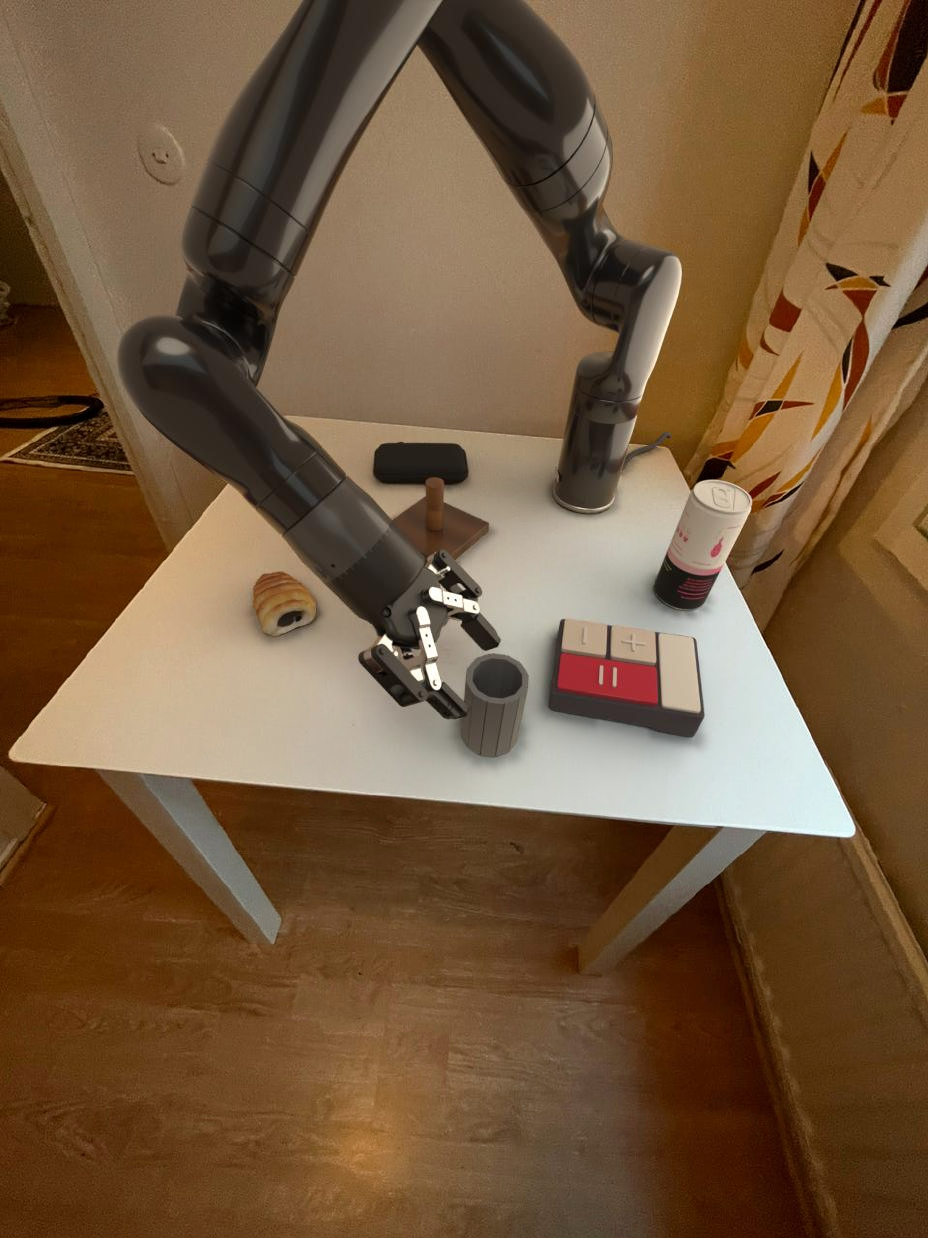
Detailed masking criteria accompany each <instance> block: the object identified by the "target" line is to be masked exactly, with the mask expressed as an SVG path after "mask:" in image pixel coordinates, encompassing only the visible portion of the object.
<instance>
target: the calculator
mask: <svg viewBox="0 0 928 1238" xmlns="http://www.w3.org/2000/svg"><path fill="white" fill-rule="evenodd" d="M701 677H702V676H701V669H700V661H699V650H698V643H697V639H696V638H695V637H693V636H688V635H680V634H674V633H667V632H660V631H655V630H651V629H643V628H636V627H629V626H622V625H610V624H606V623H603V622H602V623H601V622H595V621H594V622H593V621H587V620H581V619H574V618H562V619H560V620H559V625H558V631H557V637H556V644H555V653H554V660H553V667H552V675H551V684H550V691H549V700H548V709H549V710H550V711H554V712H559V713H564V714H571V715H578V716H584V717H589V718H593V719H594V718H596V719H601V720H607V721H612V722H619V723H623V724H632V725H638V726H642V727H648V728H651V729H652V730H654V731H656V732H658V733H663V734H664V733H665V734H669V735H676V736H682V737H688V738H693V737H695V736H696V734H697V732H698V730H699V728H700V726H701V724H702V722H703V720H704V719H705V715H706V714H705V705H704V704H705V703H704V697H703V695H704V694H703V687H702V679H701Z"/></svg>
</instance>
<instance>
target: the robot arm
mask: <svg viewBox="0 0 928 1238" xmlns="http://www.w3.org/2000/svg"><path fill="white" fill-rule="evenodd" d="M417 47H418V49H419V50H420V51H421V53H422V54H423V55H424V57H425V58H426V60H427V61H428V63H429V64H430V65H431V67H432V68H433V70H434V72H435V73H436V75H437V76H438V77H439V80H440V81H441V82H442V84H443V86H444V87H445V89H446V91H447V93H448V94H449V96H450V98H451V99H452V100H453V102H454V105H456V108H458V110H459V111H460V113H461V115H462V116H463V118H464V120H465V121H466V123H467V124H468V126H469V127H470V129H471V130H472V132H473V134H474V135H475V136H476V138H477V140H478V141H479V143H480V144H481V145H482V147H483V149H484V151H485V152H486V154H487V155H488V157H489V159H490V160H491V162H492V164H493V166H494V167H495V169H496V171H497V173H498V175H499V176H500V178H501V179H502V181H503V182H504V184H505V186H506V187H507V189H508V190H509V192H510V193H511V195H512V197H513V198H514V200H515V201H516V202H517V204H518V206H519V207H520V209H522V211H523V212H524V214H525V215H526V216H527V218H528V219H529V221H530V222H531V224H532V226H533V227H534V229H535V230H536V232H537V233H538V235H539V237H540V238H541V240H542V241H543V243H544V244H545V246H546V248H547V249H548V250H549V252H550V253H551V255H552V256H553V258H554V260H555V262H556V263H557V264H556V265H558V268H559V270H560V272H561V274H562V276H563V278H564V282H565V283H566V285H567V288H568V290H569V292H570V295H571V297H572V299H573V302H574V304H575V305H576V307H577V309H578V311H579V312H580V314H581V315H582V316H583V317H584V318H585V319H586V320H587V321H589V322H590V323H592V324H593V325H596V326H598V327H601V328H603V329H605V330H608V331H611V332H613V333H616V334H618V337H617V341H616V344H615V346H614V348H613V350H603V351H596V352H592V353H589V354H587V355H584V356H582V358H581V359H580V360H579V361H578V363H577V365H576V370H575V374H574V378H573V383H572V384H573V385H572V390H571V395H570V399H569V406H568V412H567V417H566V422H565V426H564V432H563V437H562V444H561V448H560V454H559V460H558V464H557V467H555V469H554V475H555V480H554V484H553V487H552V497H553V498H554V500H555V501H556V502H557V503H558V504H559V506H560V505H561V507H563V508H565V509H567V510H570V511H573V512H575V513H581V514H599V513H603V512H605V511H607V510H609V509H610V508H611V507H612V505H614V501H615V496H616V491H617V489H618V484H619V482H620V477H621V474H622V472H623V470H625V468H626V467H627V466H628V464H629V462H630V461H631V460H632V458H634V457H635V456H638V455H639V454H642V453H645V452H648V451H650V450H652V449H655V448H656V447H658V446H659V445H660V444H661V443H663V441H664V440H665V439H672V434H671V433H670V431H665V432H663V433H662V434H661V435H660V436H659V437H658V438H657V439H656V440H654V442H652V443H650V444H648V445H644V446H642V447H638V448H636V449H634V450H633V451H630V452H629V453H628V449H629V445H630V443H631V439H632V436H633V431H634V429H635V424H636V421H637V417H638V413H639V410H640V407H641V404H642V400H643V396H644V393H645V389H646V386H647V382H648V381H649V378H650V376H651V374H652V373H653V370H654V368H655V366H656V364H657V361H658V358H659V355H660V352H661V349H662V345H663V342H664V339H665V336H666V335H667V330H668V327H669V325H670V322H671V320H672V317H673V314H674V311H675V308H676V305H677V301H678V299H679V294H680V290H681V286H682V279H683V264H682V261H681V258H680V257H679V256H678V255H677V254H676V253H675V252H673V251H671V250H668V249H665V248H661V247H657V246H654V245H650V244H646V243H643V242H640V241H637V240H634V239H633V240H632V239H629V238H627V237H625V236H623V235H622V234H620V232H618V231H617V230H616V228H615V226H614V225H613V224H612V221H610V218H609V216H608V214H607V212H606V210H605V208H604V201H605V198H606V196H607V194H608V189H609V186H610V182H611V178H612V171H613V166H614V165H613V164H614V151H613V143H612V138H611V134H610V131H609V127H608V124H607V121H606V118H605V116H604V114H603V111H602V108H601V106H600V103H599V101H598V97H597V96H596V93H595V90H594V88H593V86H592V83H591V81H590V78H589V77H588V74H587V73H586V71H585V70H584V67H583V66H582V64H581V62H580V61H579V59H578V58H577V56H576V55H575V53H574V52H573V51H572V49H570V47H569V46H568V45H567V43H566V42H565V41H564V40H563V39H562V38H561V36H560V35H559V34H558V33H557V32H556V31H555V29H554V28H552V27H551V26H550V24H549V23H548V22H547V21H546V20H545V19H544V18H543V17H542V16H541V15H540V14H539V13H538V12H537V10H536V9H534V7H532V5H530V4H529V3H528V1H526V0H300V2H299V4H298V5H297V7H296V9H295V11H294V12H293V13H292V15H291V16H290V18H289V19H288V21H287V23H286V24H285V26H284V27H283V28H282V30H281V32H280V33H279V35H278V36H277V37H276V38H275V40H274V42H273V43H272V45H270V47H269V49H268V50H267V52H266V53H265V54H264V56H263V57H262V58H261V60H260V61H259V63H258V64H257V66H256V67H255V68H254V70H253V72H252V73H251V74H250V76H249V77H248V79H247V80H246V81H245V83H244V85H243V86H242V87H241V89H240V90H239V92H238V94H237V95H236V97H235V99H234V100H233V102H232V104H231V106H230V107H229V109H228V110H227V112H226V113H225V116H224V118H223V121H222V122H221V124H220V126H219V128H218V130H217V132H216V134H215V137H214V139H213V142H212V144H211V147H210V150H209V152H208V155H207V157H206V159H205V161H206V162H204V166H203V168H202V170H201V173H200V176H199V179H198V182H197V184H196V187H195V189H194V193H193V195H192V198H191V201H190V203H189V205H190V206H189V207H188V208H187V212H186V214H185V218H184V221H183V224H182V227H181V232H180V236H179V250H180V254H181V257H182V259H183V261H184V264H185V267H186V269H185V275H184V281H183V284H182V288H181V291H180V295H179V298H178V302H177V305H176V309H175V311H174V314H154V315H149V316H145V317H142V318H140V319H138V320H136V321H135V322H133V323H131V325H129V327H127V328H126V329H125V331H124V332H123V334H122V335H121V336H120V339H119V342H118V344H117V345H118V346H117V349H116V369H117V374H118V377H119V380H120V383H121V386H122V388H123V389H124V392H125V394H126V395H127V397H128V398H129V400H130V401H131V403H132V404H133V405H134V407H135V409H136V410H137V411H138V412H139V413H140V414H141V416H143V417H144V419H145V420H146V421H147V422H149V424H150V425H151V426H153V428H154V429H155V430H157V431H158V432H159V433H160V434H161V435H162V436H163V437H164V438H165V439H167V440H168V441H170V442H171V444H173V445H174V446H175V447H177V448H178V449H180V450H181V451H182V452H184V454H186V455H188V456H189V457H190V458H191V459H192V460H194V461H196V462H197V463H198V464H200V465H201V466H202V467H204V468H205V469H206V470H207V471H209V472H210V473H211V474H212V475H214V476H216V477H217V478H219V479H220V480H222V481H223V482H225V483H227V484H228V485H229V486H230V487H232V488H233V489H235V490H236V491H237V492H238V493H239V494H240V495H241V496H242V497H243V499H244V500H245V501H246V502H247V503H248V505H249V506H250V507H251V508H252V509H254V510H255V511H256V513H258V515H259V516H261V518H263V520H265V521H266V523H267V524H269V526H270V527H272V528H273V529H274V530H275V532H277V533H278V534H279V535H281V538H282V539H283V540H284V541H285V542H286V544H288V546H289V547H290V548H291V550H292V551H293V553H294V554H295V555H296V556H297V558H298V559H299V560H300V561H301V562H302V563H303V564H304V565H305V566H306V567H307V568H308V569H309V570H310V571H311V572H312V573H313V574H314V575H315V577H317V578H318V579H319V581H321V582H322V583H323V585H325V586H326V587H327V588H328V589H329V590H330V591H331V592H332V593H333V594H334V595H335V596H336V597H337V598H338V599H339V600H340V601H341V602H342V603H343V604H344V605H345V606H346V607H347V608H348V609H349V610H350V611H351V612H352V613H353V614H354V615H355V616H356V617H357V618H359V619H362V620H363V621H365V622H368V623H369V624H370V625H371V626H372V627H373V629H374V631H375V633H376V636H377V638H376V639H375V641H374V642H373V643H372V644H371V646H370V647H369V648H368V649H365V650H362V651H361V652H359V654H357V655H358V656H357V660H358V662H359V664H360V665H361V666H362V668H364V669H365V670H366V672H367V673H368V674H369V675H370V676H371V677H372V678H373V679H374V680H375V681H376V682H377V683H378V684H379V685H380V686H381V687H382V689H383V690H384V691H385V692H386V693H387V694H388V695H389V696H390V697H391V698H392V699H393V700H394V701H395V702H396V703H397V704H398V705H399V706H400V707H401V708H406V707H410V706H413V705H417V704H421V703H423V702H427V704H429V706H431V707H432V708H433V710H434V711H436V712H437V713H438V714H439V715H440V716H441V717H442V718H443V719H445V720H448V721H449V720H458V719H462V718H463V717H466V716H467V714H468V712H469V710H470V708H469V706H468V705H467V704H466V703H465V702H464V699H462V698H461V697H460V696H459V695H458V694H457V693H456V692H455V691H454V690H453V688H451V687H450V686H449V685H448V683H446V682H445V681H442V680H441V677H440V673H439V670H438V666H437V660H438V658H439V654H438V651H437V647H436V643H437V642H438V639H439V638H440V636H441V631H442V629H443V628H444V627H445V626H446V625H447V624H448V622H449V620H452V621H456V622H460V621H461V623H460V626H459V627H461V629H462V630H463V631H464V632H465V633H466V634H467V635H468V636H469V637H470V638H471V640H473V641H474V643H475V644H476V645H477V646H478V647H479V649H481V650H482V651H484V652H487V651H491V650H493V649H497V648H498V647H499V646H500V644H501V641H502V639H501V637H500V636H499V634H498V632H497V630H496V629H495V627H494V626H493V625H492V624H491V623H490V622H489V621H488V620H487V619H486V617H485V616H484V615H483V614H482V612H480V611H481V606H480V605H479V603H478V600H479V598H480V597H481V596H483V589H482V587H481V586H480V585H479V584H478V583H477V582H476V581H475V580H474V578H473V577H471V575H470V574H469V573H468V572H467V571H466V570H465V569H464V568H463V567H462V566H461V565H460V564H459V562H458V561H457V560H454V559H453V557H452V556H451V555H450V554H449V553H448V552H447V551H446V550H444V549H441V550H440V551H438V552H435V553H433V554H432V555H430V556H428V557H427V558H424V556H423V554H422V553H421V552H420V551H419V550H418V549H417V548H416V546H415V545H414V544H413V543H412V542H411V541H410V540H409V539H408V538H407V536H406V535H405V534H404V533H403V532H402V531H401V530H400V529H399V527H398V526H397V525H396V524H395V523H394V522H393V521H392V520H393V519H392V518H391V517H390V516H389V515H388V514H387V513H386V512H385V511H384V509H383V508H382V507H381V505H379V504H378V503H377V502H376V500H375V499H374V498H373V496H371V495H370V494H369V493H368V492H367V491H366V490H365V489H364V488H362V487H361V486H360V485H358V483H356V482H355V481H354V480H353V479H352V478H351V477H350V476H349V475H347V473H346V471H345V470H343V469H342V468H341V466H340V465H339V464H338V463H337V461H336V460H334V459H333V457H332V455H330V454H329V453H328V452H327V451H326V449H325V448H323V446H322V445H321V444H320V443H319V442H318V441H317V439H315V438H314V437H313V436H312V435H311V434H310V433H309V432H308V431H307V430H305V428H303V427H302V426H301V425H299V424H297V423H295V422H293V421H291V420H289V419H287V418H286V417H285V416H283V415H282V413H280V411H278V410H277V409H276V407H275V406H274V405H273V404H272V403H271V402H270V401H269V400H268V399H267V398H266V396H264V394H262V392H261V391H260V390H259V389H258V388H257V387H258V385H259V382H260V380H261V377H262V375H263V371H264V368H265V365H266V363H267V360H268V355H269V354H270V353H269V352H270V349H271V345H272V342H273V339H274V336H275V332H276V327H277V323H278V319H279V316H280V312H281V309H282V306H283V304H284V302H285V300H286V298H287V296H288V294H289V293H290V291H291V288H292V286H293V284H294V283H295V279H296V278H295V277H297V276H298V274H299V272H300V269H301V267H302V265H303V262H304V260H305V258H306V256H307V253H308V252H309V249H310V247H311V244H312V242H313V239H314V237H315V235H316V232H317V230H318V228H319V225H320V223H321V221H322V218H323V216H324V214H325V211H326V209H327V207H328V205H329V203H330V200H331V198H332V196H333V194H334V191H335V189H336V187H337V186H338V184H339V181H340V179H341V177H342V176H343V174H344V171H345V169H346V168H347V166H348V163H349V162H350V160H351V158H352V156H353V154H354V153H355V151H356V149H357V148H358V145H359V143H360V142H361V140H362V138H363V136H364V134H365V133H366V131H367V129H368V127H369V126H370V124H371V122H372V120H373V118H374V117H375V115H376V113H378V109H380V106H381V105H382V104H383V102H384V100H385V98H386V97H387V95H388V93H389V92H390V90H391V88H392V87H393V85H394V83H395V82H396V80H397V79H398V77H399V76H400V74H401V72H402V70H403V69H404V67H405V66H406V64H407V63H408V61H409V59H410V57H411V56H412V54H413V53H414V51H415V50H416V48H417ZM627 453H628V454H627ZM459 584H460V585H459ZM461 586H462V587H463V588H464V589H462V587H461ZM441 587H442V588H443V589H444V590H443V589H442V588H441ZM393 647H394V648H395V650H394V649H393ZM413 650H414V651H415V650H420V653H419V654H418V655H416V656H415V655H414V654H413Z"/></svg>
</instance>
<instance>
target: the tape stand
mask: <svg viewBox="0 0 928 1238" xmlns="http://www.w3.org/2000/svg"><path fill="white" fill-rule="evenodd" d="M391 520H392V521H393V522H394V523H395V524H396V525H397V526H398V527H399V529H400V530H401V531H402V532H403V533H404V534H405V535H406V536H407V538H408V539H409V540H410V541H411V542H412V543H413V544H414V545H415V546H416V548H417V549H418V550H419V551H420V552H421V553H422V554H423V556H424V558H427V557H428V556H430V555H432V554H433V553H435V552H438V551H440V550H441V549H444V550H446V551H447V552H448V553H449V554H450V555H451V556H452V557H453V559H454V560H455V561H457V559H458V558H459V557H460V556H462V554H464V553H465V552H466V551H467V550H469V548H471V547H472V546H473V545H474V544H476V543H477V542H478V541H479V540H480V539H482V538H483V537H484V536H485V535H486V534H487V533H489V530H490V522H489V521H486V520H484V519H482V518H480V517H477V516H475V515H473V514H471V513H469V512H466V511H465V510H462V509H460V508H458V507H456V506H453V505H451V504H450V503H447V502H445V484H444V481H443V480H442V479H440V478H437V477H432V478H429V479H427V480H426V484H425V496H423V497H422V498H421V499H419V500H418V501H416V502H415V503H413V504H412V505H410V506H409V507H408V508H407V509H405V510H404V511H403V512H401V513H400V514H398V515H396V516H395V517H393V518H392V519H391Z"/></svg>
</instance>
